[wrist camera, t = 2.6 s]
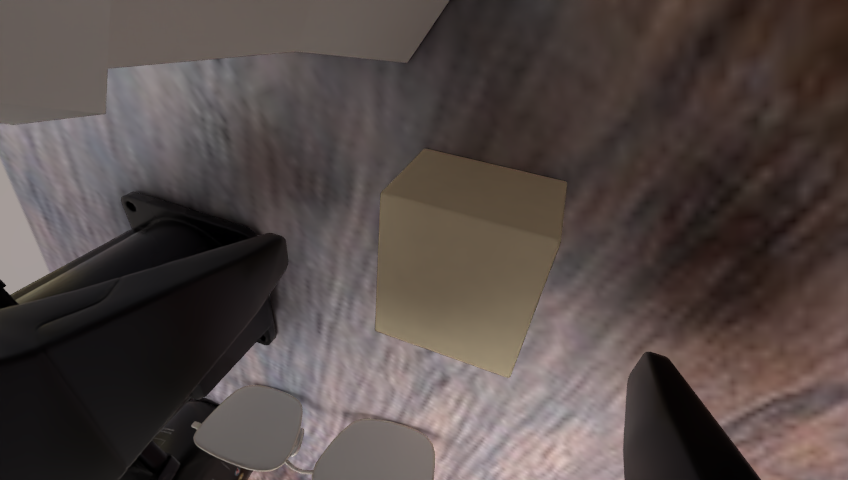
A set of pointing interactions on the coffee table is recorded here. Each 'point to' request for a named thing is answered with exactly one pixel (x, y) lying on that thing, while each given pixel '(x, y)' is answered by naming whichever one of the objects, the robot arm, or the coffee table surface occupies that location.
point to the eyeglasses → (282, 437)
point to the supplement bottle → (195, 447)
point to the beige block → (465, 256)
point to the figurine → (179, 41)
